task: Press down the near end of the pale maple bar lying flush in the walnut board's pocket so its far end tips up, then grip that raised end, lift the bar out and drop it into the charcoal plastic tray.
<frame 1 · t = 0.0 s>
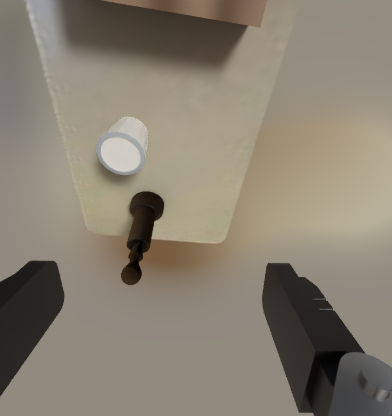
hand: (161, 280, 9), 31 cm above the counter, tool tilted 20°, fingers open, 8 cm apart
brown wooden tall figure: (148, 202, 48), on the counter
white cup: (131, 133, 38), on the counter
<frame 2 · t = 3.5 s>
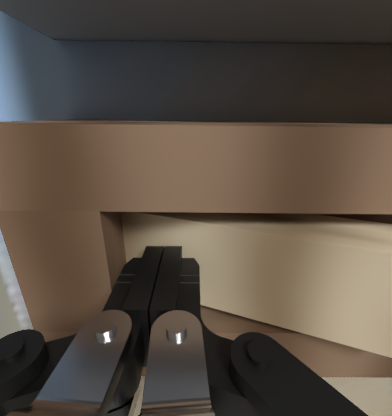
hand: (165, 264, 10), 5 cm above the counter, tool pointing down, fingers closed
maple bar: (263, 247, 11), point 4 cm above the counter, tilted 20°, touching gripper, walnut pocket board
walnut pocket board: (248, 216, 14), on the counter
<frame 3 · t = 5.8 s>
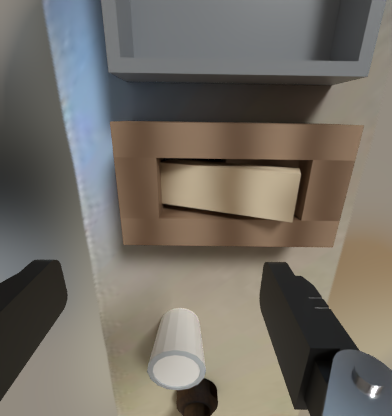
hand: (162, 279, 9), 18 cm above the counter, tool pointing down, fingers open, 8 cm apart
maple bar: (228, 183, 23), point 4 cm above the counter, tilted 20°, touching walnut pocket board
brown wooden tall figure: (196, 388, 39), on the counter
walnut pocket board: (224, 175, 26), on the counter
white cup: (180, 321, 34), on the counter
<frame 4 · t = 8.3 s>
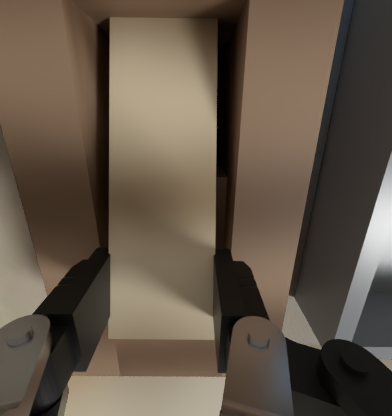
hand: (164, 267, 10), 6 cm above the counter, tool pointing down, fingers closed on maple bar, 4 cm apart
maple bar: (169, 185, 11), point 4 cm above the counter, tilted 20°, touching gripper, walnut pocket board
walnut pocket board: (176, 169, 15), on the counter
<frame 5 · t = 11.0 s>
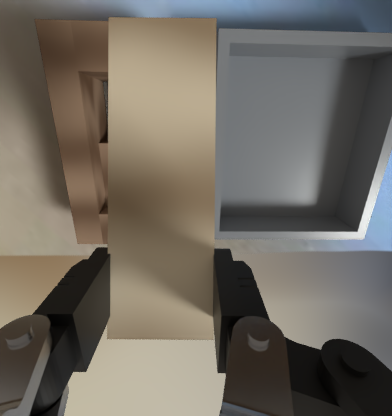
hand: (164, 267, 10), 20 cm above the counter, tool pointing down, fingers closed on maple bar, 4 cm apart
maple bar: (169, 185, 11), point 18 cm above the counter, tilted 21°, touching gripper
walnut pocket board: (133, 144, 28), on the counter
charcoal tray: (284, 145, 28), on the counter
when the fingers open (11 cm above the counter, at t = 14.0 s): maple bar drops 8 cm, resting on charcoal tray.
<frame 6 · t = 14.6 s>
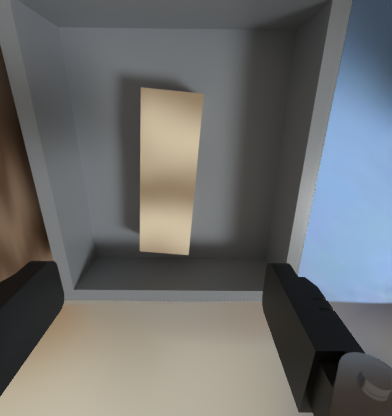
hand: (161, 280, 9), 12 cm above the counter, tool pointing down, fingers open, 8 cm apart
maple bar: (171, 174, 19), resting on charcoal tray
charcoal tray: (180, 161, 19), on the counter
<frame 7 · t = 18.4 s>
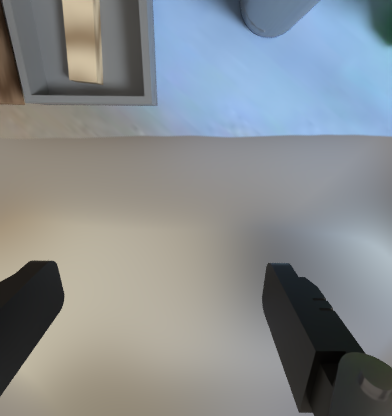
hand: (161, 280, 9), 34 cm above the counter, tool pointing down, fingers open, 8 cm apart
maple bar: (87, 37, 34), resting on charcoal tray
charcoal tray: (92, 31, 34), on the counter
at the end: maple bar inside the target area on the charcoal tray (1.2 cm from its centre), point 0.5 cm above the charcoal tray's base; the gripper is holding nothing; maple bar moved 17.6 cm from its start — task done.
